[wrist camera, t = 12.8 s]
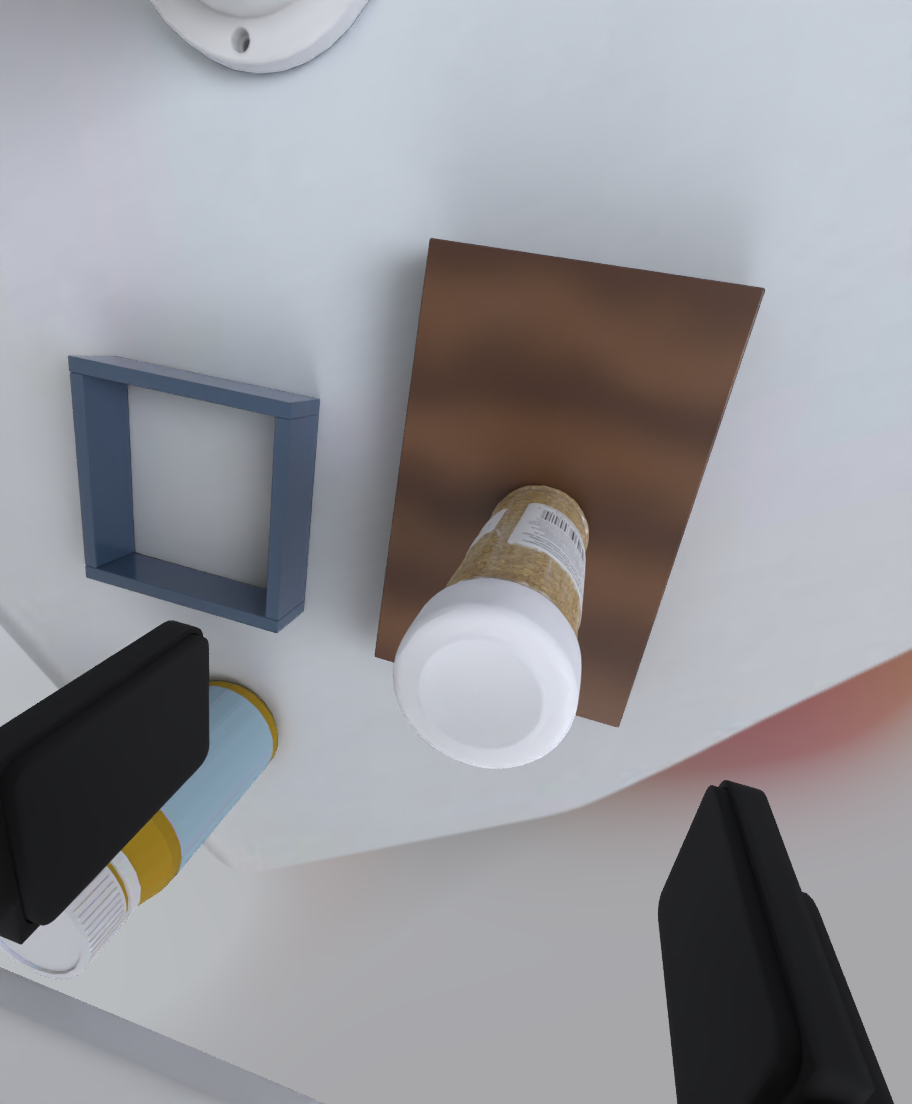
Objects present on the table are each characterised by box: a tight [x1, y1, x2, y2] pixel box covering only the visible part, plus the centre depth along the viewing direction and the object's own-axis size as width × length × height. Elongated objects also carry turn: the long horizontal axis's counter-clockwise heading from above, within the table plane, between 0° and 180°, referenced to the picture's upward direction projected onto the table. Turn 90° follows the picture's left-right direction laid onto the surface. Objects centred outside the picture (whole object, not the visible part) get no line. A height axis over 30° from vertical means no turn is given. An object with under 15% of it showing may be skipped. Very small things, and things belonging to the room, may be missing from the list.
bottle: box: [0, 681, 278, 979], centre depth 31 cm, size 7×7×15 cm
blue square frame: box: [68, 356, 320, 633], centre depth 31 cm, size 13×13×3 cm
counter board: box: [375, 238, 765, 727], centre depth 26 cm, size 20×13×3 cm, turn 170°
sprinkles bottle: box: [393, 485, 589, 769], centre depth 19 cm, size 5×5×13 cm
